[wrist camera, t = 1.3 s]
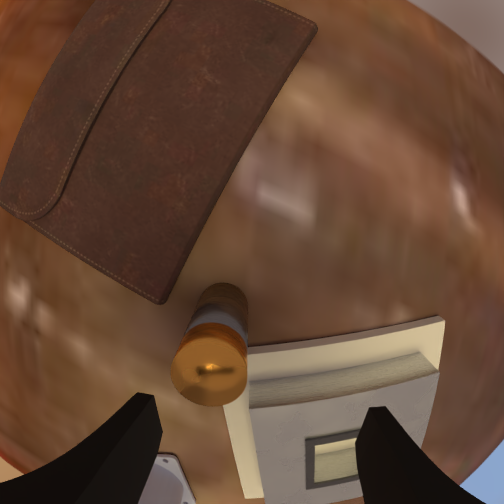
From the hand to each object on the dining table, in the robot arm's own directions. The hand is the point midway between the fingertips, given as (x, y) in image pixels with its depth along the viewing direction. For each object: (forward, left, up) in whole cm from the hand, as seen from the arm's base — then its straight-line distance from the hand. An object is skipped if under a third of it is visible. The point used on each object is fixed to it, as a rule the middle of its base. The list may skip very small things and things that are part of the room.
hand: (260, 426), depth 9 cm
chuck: (+5, -10, -10) cm, 15 cm away
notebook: (-6, +14, -11) cm, 19 cm away
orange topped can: (-2, +1, -10) cm, 10 cm away
